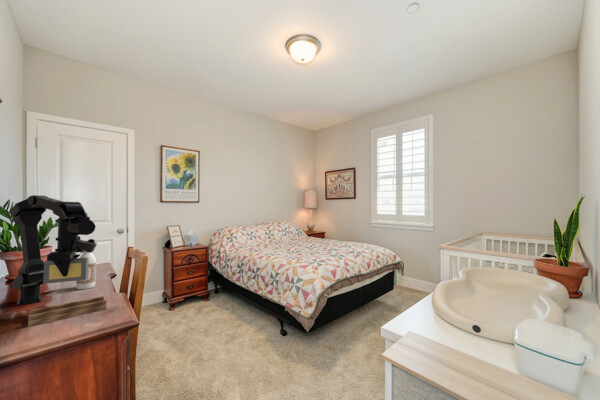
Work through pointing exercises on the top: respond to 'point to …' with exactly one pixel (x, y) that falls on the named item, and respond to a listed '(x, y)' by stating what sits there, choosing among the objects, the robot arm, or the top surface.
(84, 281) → the bath foam
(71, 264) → the photo frame
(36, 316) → the picture ledge
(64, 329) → the top surface
